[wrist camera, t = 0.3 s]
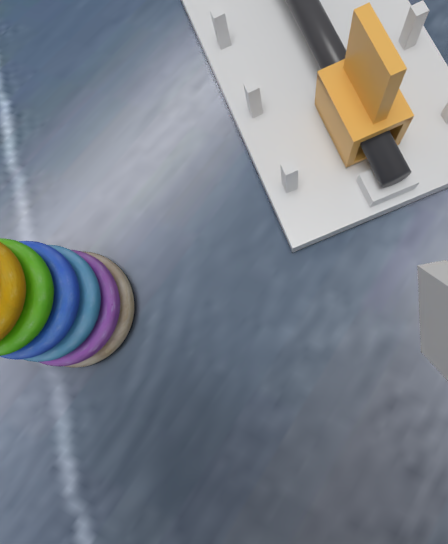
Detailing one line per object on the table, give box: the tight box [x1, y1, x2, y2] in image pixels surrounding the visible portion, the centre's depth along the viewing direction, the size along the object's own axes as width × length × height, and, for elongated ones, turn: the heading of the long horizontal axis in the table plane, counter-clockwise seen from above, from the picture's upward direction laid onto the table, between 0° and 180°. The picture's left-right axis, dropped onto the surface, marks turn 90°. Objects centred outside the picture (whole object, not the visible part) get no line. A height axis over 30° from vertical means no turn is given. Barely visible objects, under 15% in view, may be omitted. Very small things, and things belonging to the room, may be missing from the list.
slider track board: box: [181, 0, 448, 253], centre depth 28 cm, size 26×14×6 cm, turn 22°
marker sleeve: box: [315, 2, 414, 167], centre depth 24 cm, size 5×4×8 cm
